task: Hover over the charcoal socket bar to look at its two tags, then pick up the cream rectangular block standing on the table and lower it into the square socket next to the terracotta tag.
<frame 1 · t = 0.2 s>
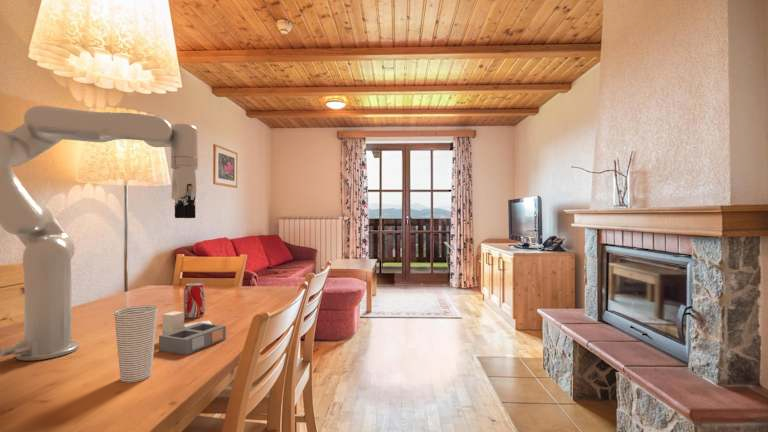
hand: (184, 218, 122), 36 cm above the table, tool pointing down, fingers open, 9 cm apart
soda can: (194, 317, 142), on the table
socket bar: (193, 344, 111), on the table
cup: (136, 378, 88), on the table
cream rectangular block: (173, 340, 115), on the table
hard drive: (200, 332, 126), on the table
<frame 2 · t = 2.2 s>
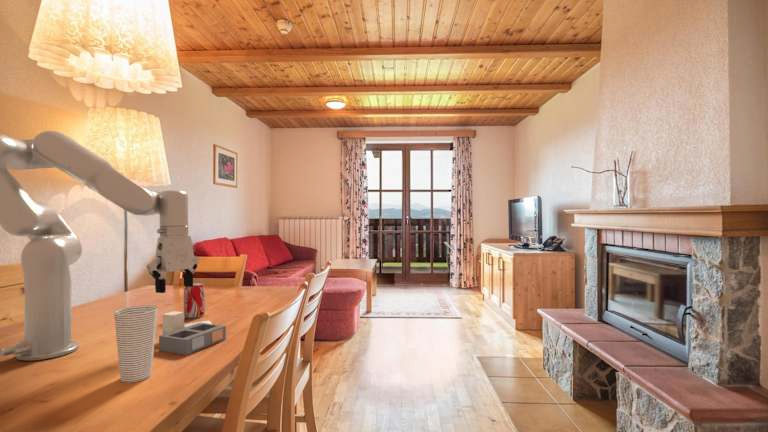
hand: (175, 289, 115), 15 cm above the table, tool pointing down, fingers open, 9 cm apart
nothing on the table moved.
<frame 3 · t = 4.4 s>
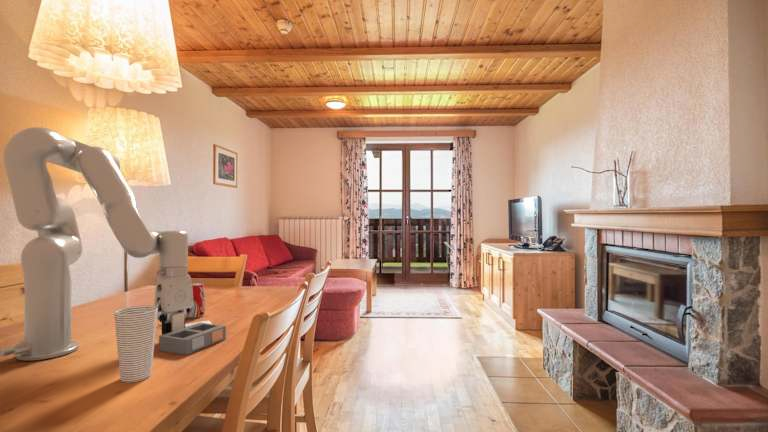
hand: (173, 332, 115), 2 cm above the table, tool pointing down, fingers closed on cream rectangular block, 4 cm apart
cream rectangular block: (173, 340, 115), on the table, touching gripper
everything else where it was.
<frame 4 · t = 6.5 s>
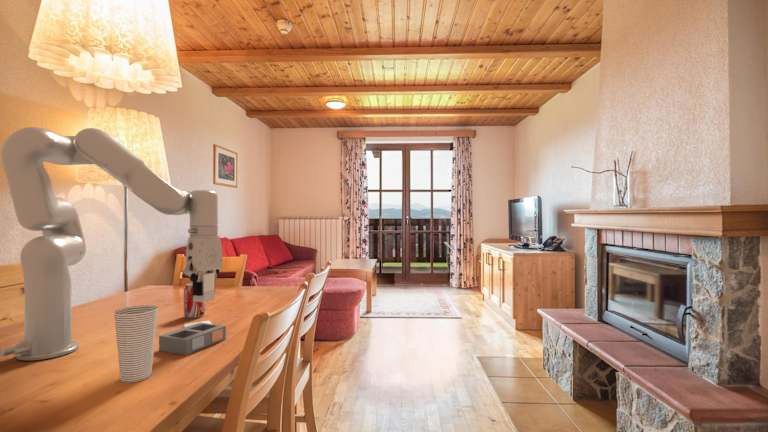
hand: (204, 293, 114), 14 cm above the table, tool pointing down, fingers closed on cream rectangular block, 4 cm apart
cream rectangular block: (204, 300, 114), point 12 cm above the table, touching gripper
everything else where it was.
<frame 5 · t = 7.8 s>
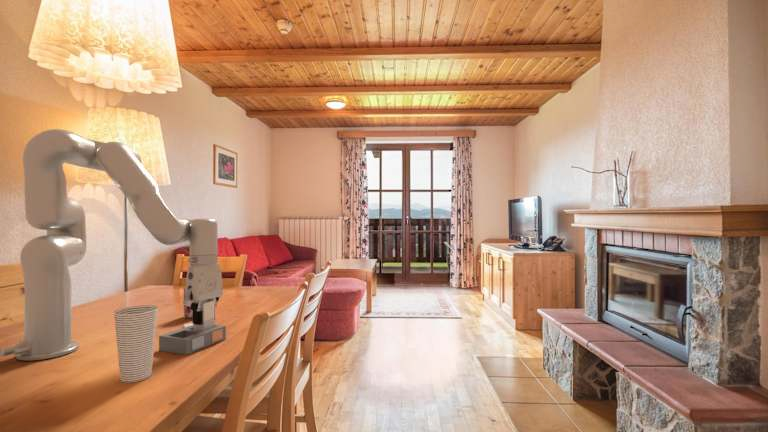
hand: (204, 321, 114), 6 cm above the table, tool pointing down, fingers closed on cream rectangular block, 4 cm apart
cream rectangular block: (204, 328, 114), point 4 cm above the table, touching gripper
everything else where it was.
when the fingers open (5 cm above the table, at t = 8.7 s): cream rectangular block drops 3 cm, resting in socket bar.
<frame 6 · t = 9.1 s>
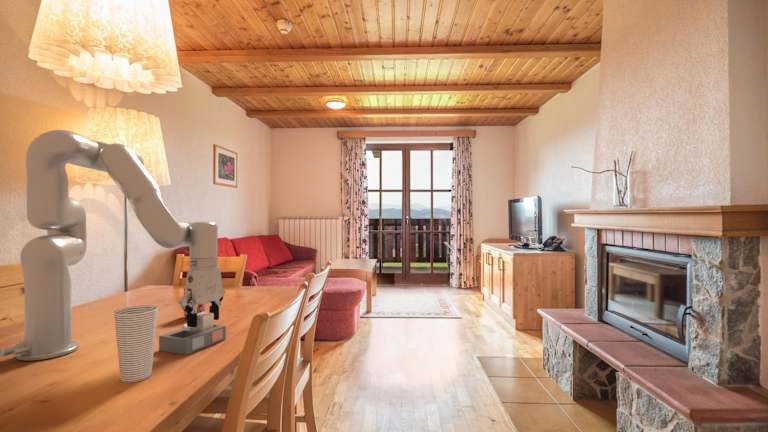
hand: (203, 322, 114), 5 cm above the table, tool pointing down, fingers open, 7 cm apart
cream rectangular block: (203, 341, 114), resting in socket bar
everything else where it was.
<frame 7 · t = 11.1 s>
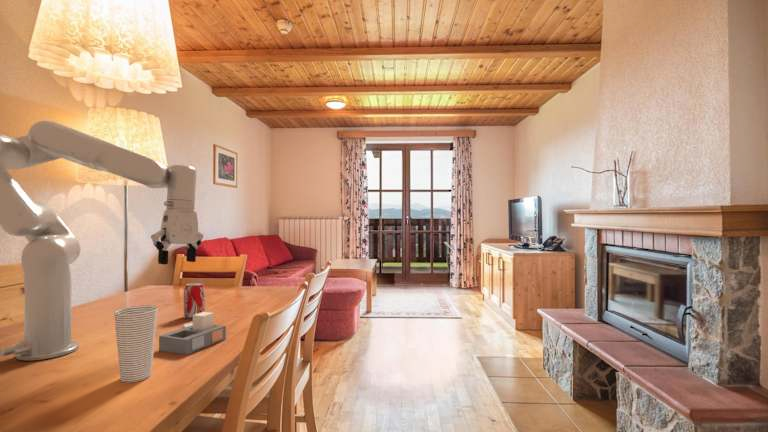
hand: (177, 262, 117), 23 cm above the table, tool pointing down, fingers open, 9 cm apart
nothing on the table moved.
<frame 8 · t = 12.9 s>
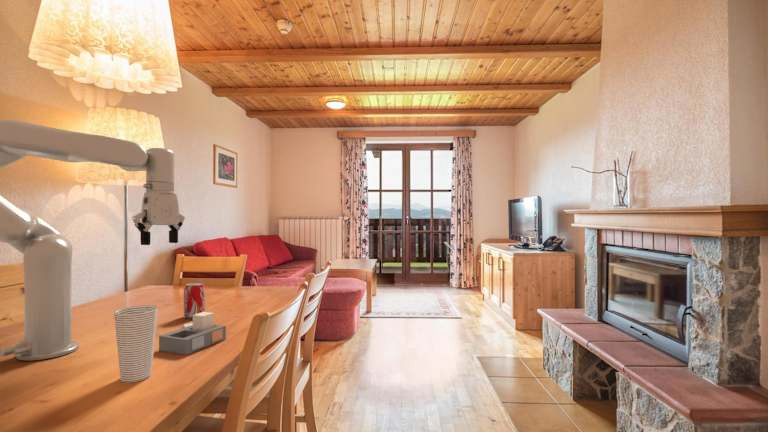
hand: (160, 243, 120), 28 cm above the table, tool pointing down, fingers open, 9 cm apart
nothing on the table moved.
at the end: cream rectangular block 0.0 cm from the target spot on the socket bar, point 0.0 cm above the socket bar's base; cream rectangular block tilted 0°; the gripper is holding nothing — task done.
